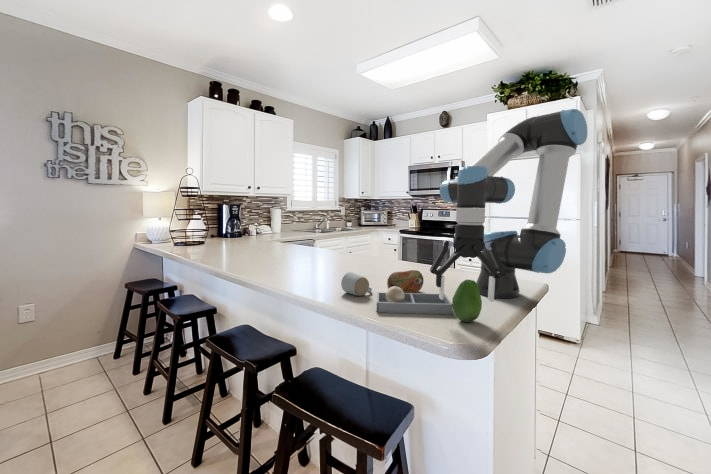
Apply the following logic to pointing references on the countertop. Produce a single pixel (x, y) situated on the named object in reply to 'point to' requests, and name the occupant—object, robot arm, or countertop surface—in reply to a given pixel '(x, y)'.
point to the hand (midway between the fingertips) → (465, 299)
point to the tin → (406, 281)
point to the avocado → (467, 301)
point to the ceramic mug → (355, 284)
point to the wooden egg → (395, 295)
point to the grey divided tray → (415, 304)
